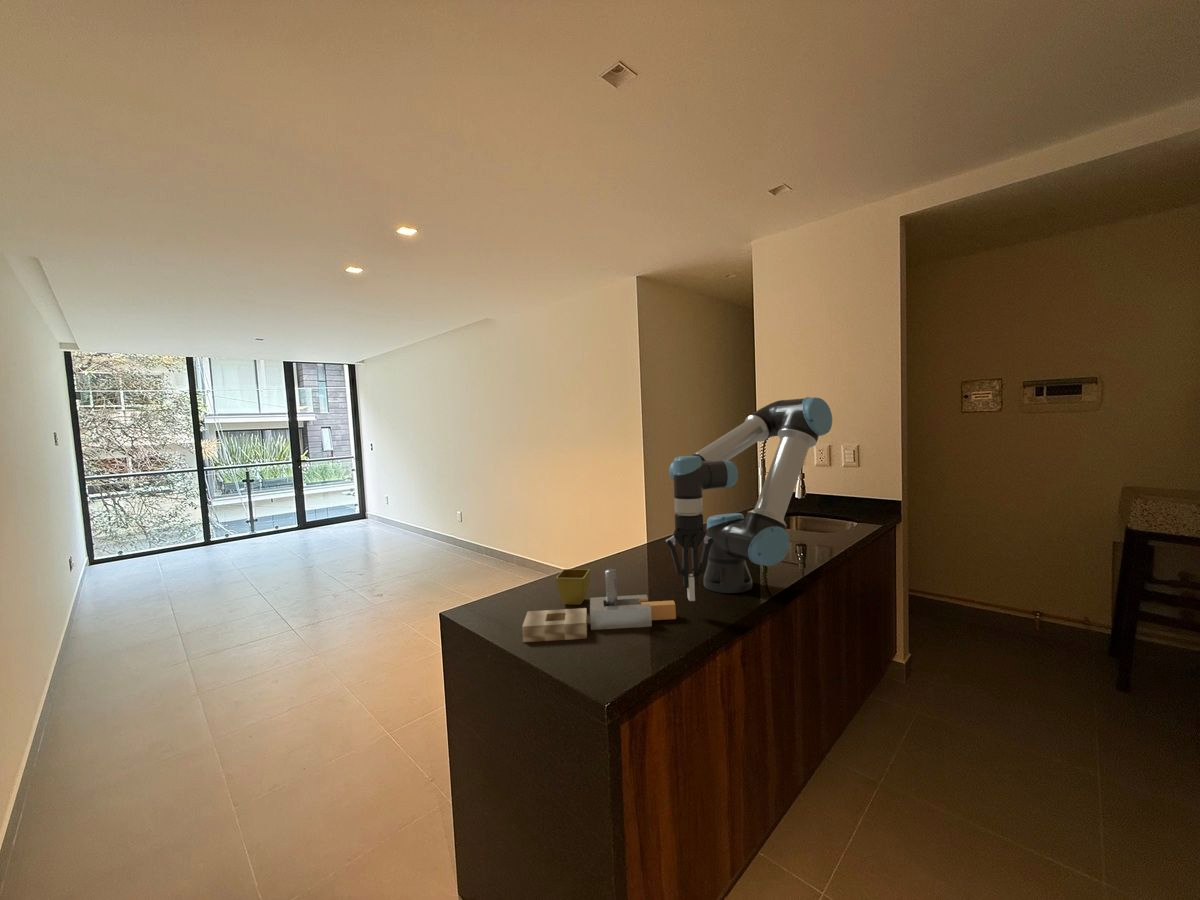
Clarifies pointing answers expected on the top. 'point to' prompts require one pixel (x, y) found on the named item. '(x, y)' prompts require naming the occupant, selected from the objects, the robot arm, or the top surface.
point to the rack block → (555, 625)
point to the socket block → (620, 613)
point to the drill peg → (611, 587)
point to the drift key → (662, 610)
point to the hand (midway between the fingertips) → (691, 599)
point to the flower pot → (573, 585)
